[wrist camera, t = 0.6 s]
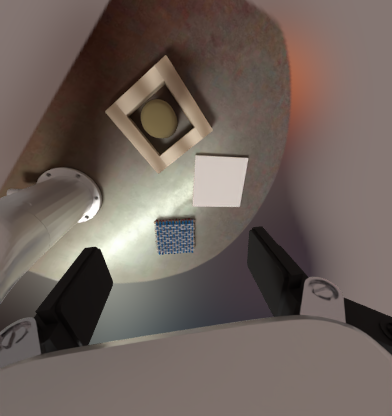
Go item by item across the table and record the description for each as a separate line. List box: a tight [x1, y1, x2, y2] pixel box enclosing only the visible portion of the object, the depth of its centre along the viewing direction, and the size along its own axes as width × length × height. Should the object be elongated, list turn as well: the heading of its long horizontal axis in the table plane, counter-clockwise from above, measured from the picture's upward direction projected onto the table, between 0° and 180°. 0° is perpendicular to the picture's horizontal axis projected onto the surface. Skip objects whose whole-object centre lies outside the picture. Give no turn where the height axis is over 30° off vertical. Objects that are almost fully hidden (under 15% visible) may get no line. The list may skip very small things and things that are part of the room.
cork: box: [141, 99, 178, 138], centre depth 29 cm, size 6×6×11 cm
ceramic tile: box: [192, 155, 248, 207], centre depth 41 cm, size 12×12×1 cm
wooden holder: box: [105, 55, 213, 174], centre depth 33 cm, size 14×14×2 cm
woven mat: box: [154, 218, 195, 255], centre depth 45 cm, size 10×11×2 cm
